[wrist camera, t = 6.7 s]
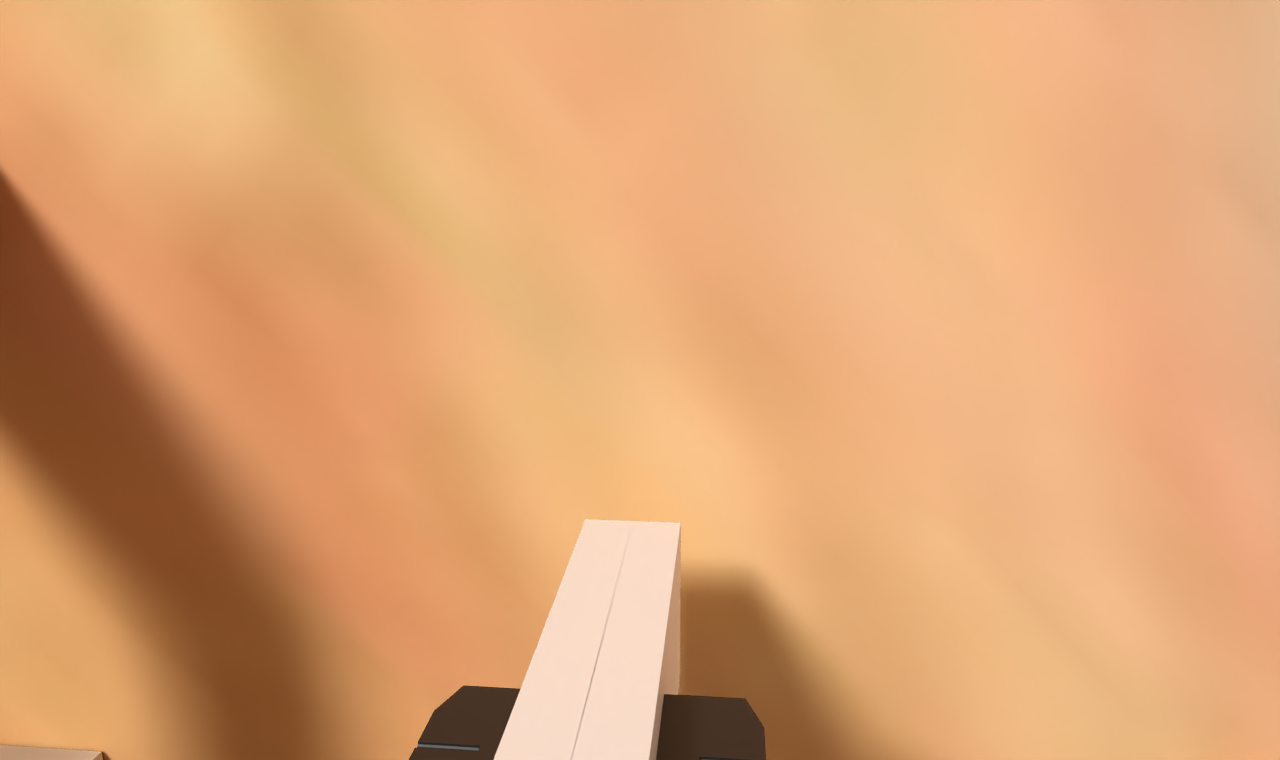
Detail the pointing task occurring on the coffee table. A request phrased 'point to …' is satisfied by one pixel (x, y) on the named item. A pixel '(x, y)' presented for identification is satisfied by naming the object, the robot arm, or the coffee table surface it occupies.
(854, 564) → the coffee table surface
